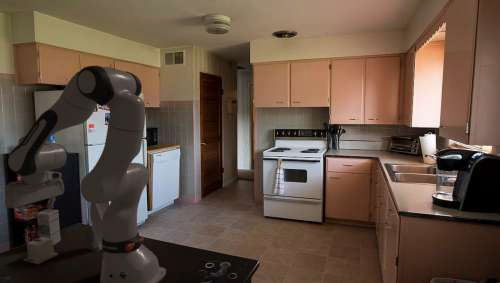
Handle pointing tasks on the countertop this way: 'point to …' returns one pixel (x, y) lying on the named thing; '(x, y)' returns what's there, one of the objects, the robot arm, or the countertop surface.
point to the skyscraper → (96, 225)
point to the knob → (40, 248)
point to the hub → (40, 260)
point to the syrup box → (49, 225)
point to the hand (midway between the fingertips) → (38, 212)
